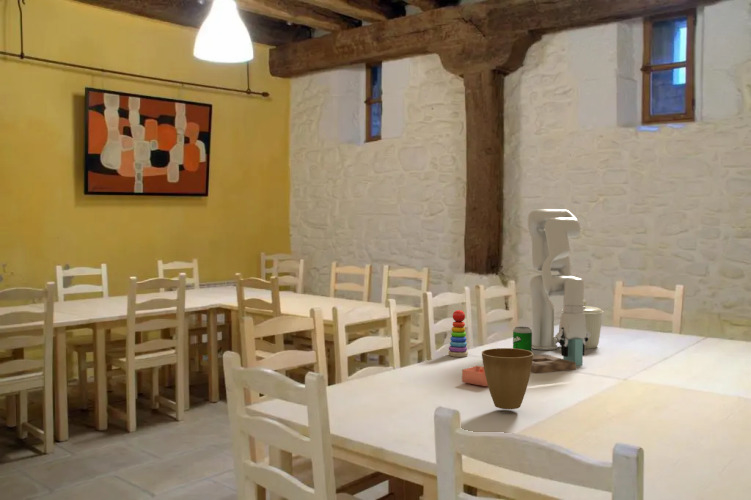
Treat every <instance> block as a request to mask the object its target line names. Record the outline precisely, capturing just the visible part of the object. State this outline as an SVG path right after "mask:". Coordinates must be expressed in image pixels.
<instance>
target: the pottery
mask: <svg viewBox="0 0 751 500" xmlns="http://www.w3.org/2000/svg"><path fill="white" fill-rule="evenodd" d="M461 372H462V373H461V374H462V375H461V382H462V383H466V384H472V385H477V386H481V387H488V384H487V380H486V376H485V371H484V366H479V365H475V366H472V367H471V366H470V367H467V368H465V369H462V371H461Z"/></svg>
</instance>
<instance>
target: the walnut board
mask: <svg viewBox="0 0 751 500" xmlns="http://www.w3.org/2000/svg"><path fill="white" fill-rule="evenodd" d="M576 367H577V366H576V363H575V362H572V361H568V360H564V359H563V358H559V357H556V356H552V355H549V354H547V353H546V354H533V360H532V367H531V372H530V373H534V374H541V373H552V372H563V371H572V370H576V369H577V368H576Z"/></svg>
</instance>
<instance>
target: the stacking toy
mask: <svg viewBox="0 0 751 500" xmlns="http://www.w3.org/2000/svg"><path fill="white" fill-rule="evenodd" d="M465 318H466V313H465V312H464V311H463V310H461V309H457V310H455V311H454V312H453V313H452V319H453V320H454V321H453V322H452V327H451V332H450V334H451V336H450V337H449V338H450V342H449V347H448V356H450V357H453V358H464V357H465V358H466V357H467V356H468V354H469V353H468V347H467V346H468V343H467V337H466V336H467V333H466V327H465V326H466V323H465V322H464V321H465Z"/></svg>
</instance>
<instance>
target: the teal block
mask: <svg viewBox="0 0 751 500" xmlns="http://www.w3.org/2000/svg"><path fill="white" fill-rule="evenodd" d="M567 346H568V357H565V356H562V357H563V358H562V359H564V360H568V361H572V362H575V363H576V367H577V366H583V357H584V355H583V339H572V340H569V342H568V344H567Z"/></svg>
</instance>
